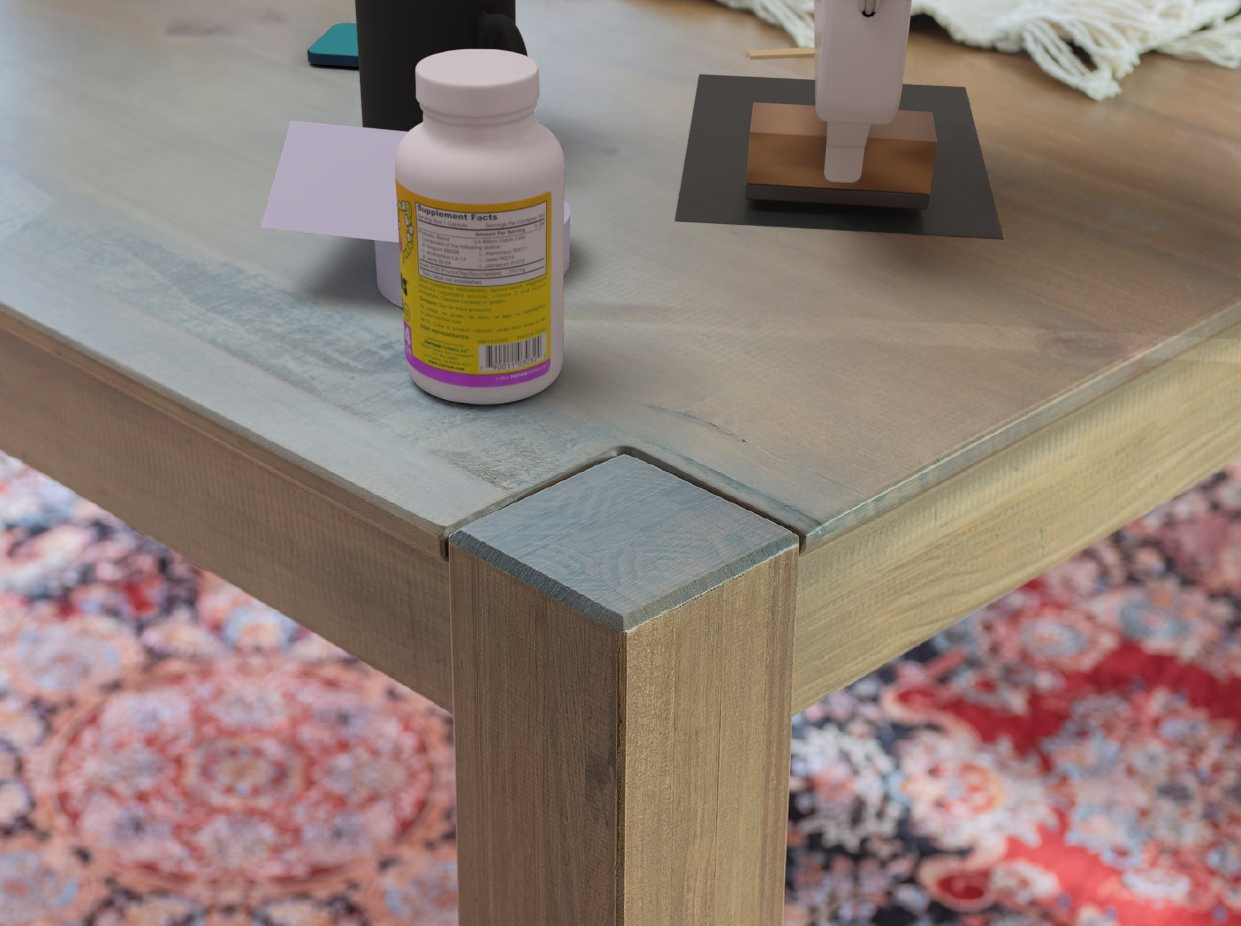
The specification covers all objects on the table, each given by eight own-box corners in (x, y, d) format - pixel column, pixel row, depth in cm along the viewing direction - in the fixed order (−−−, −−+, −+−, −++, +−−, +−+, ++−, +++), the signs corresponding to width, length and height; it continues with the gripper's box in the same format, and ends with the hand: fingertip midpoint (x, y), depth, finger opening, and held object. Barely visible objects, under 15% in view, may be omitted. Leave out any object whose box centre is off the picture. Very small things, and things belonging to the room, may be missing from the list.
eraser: (923, 177, 86) (932, 111, 84) (927, 210, 83) (937, 141, 81) (748, 167, 87) (753, 101, 85) (744, 199, 84) (749, 131, 82)
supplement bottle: (446, 330, 74) (436, 31, 67) (585, 356, 73) (591, 52, 65) (377, 393, 69) (358, 78, 62) (525, 423, 67) (524, 102, 60)
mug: (462, 221, 85) (456, 8, 79) (335, 155, 92) (321, -44, 86) (590, 186, 89) (594, -18, 83) (458, 126, 97) (453, -66, 90)
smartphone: (336, 19, 110) (560, 32, 108) (337, 32, 111) (560, 45, 109) (303, 53, 105) (539, 67, 103) (304, 66, 105) (539, 81, 103)
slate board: (963, 103, 101) (965, 86, 101) (1000, 258, 82) (1004, 238, 81) (698, 90, 103) (699, 73, 102) (673, 239, 83) (674, 220, 83)
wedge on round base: (267, 297, 77) (541, 330, 75) (252, 153, 73) (542, 182, 71) (335, 226, 84) (588, 253, 82) (325, 90, 80) (591, 115, 78)
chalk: (826, 71, 106) (821, 65, 107) (828, 52, 105) (822, 46, 106) (750, 74, 105) (745, 69, 106) (751, 55, 105) (746, 49, 106)
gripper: (961, -92, 67) (914, 239, 75) (931, -183, 84) (895, 96, 92) (803, -98, 68) (773, 231, 76) (803, -188, 84) (779, 91, 92)
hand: (840, 156), depth 84 cm, fingers closed on eraser, 4 cm apart
